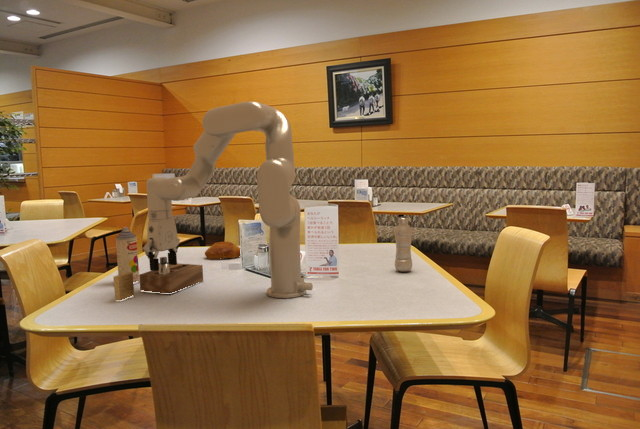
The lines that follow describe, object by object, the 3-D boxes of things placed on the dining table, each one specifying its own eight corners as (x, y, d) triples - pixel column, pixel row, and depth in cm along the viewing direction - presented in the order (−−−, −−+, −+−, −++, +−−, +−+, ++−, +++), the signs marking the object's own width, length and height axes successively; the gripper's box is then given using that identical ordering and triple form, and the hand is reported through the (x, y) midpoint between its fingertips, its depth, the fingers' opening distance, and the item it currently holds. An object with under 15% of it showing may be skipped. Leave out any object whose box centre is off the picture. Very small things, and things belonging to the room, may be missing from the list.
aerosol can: (132, 285, 172) (127, 228, 170) (114, 285, 174) (110, 228, 172) (143, 280, 179) (139, 226, 177) (126, 280, 181) (122, 225, 178)
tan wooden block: (134, 297, 158) (132, 272, 157) (120, 302, 153) (118, 276, 152) (129, 296, 159) (127, 272, 158) (115, 301, 153) (113, 276, 152)
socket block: (203, 281, 176) (202, 265, 175) (170, 295, 159) (169, 277, 158) (175, 279, 180) (174, 263, 179) (140, 292, 163) (139, 274, 163)
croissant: (237, 265, 212) (239, 246, 211) (201, 260, 212) (203, 242, 211) (243, 257, 226) (245, 240, 225) (210, 253, 227) (211, 236, 226)
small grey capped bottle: (173, 289, 167) (171, 256, 165) (166, 291, 163) (164, 259, 162) (164, 288, 168) (162, 256, 167) (157, 290, 165) (155, 258, 163)
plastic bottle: (392, 272, 181) (392, 218, 179) (397, 268, 187) (396, 216, 185) (410, 274, 179) (410, 218, 176) (414, 269, 185) (413, 216, 182)
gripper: (151, 219, 153) (155, 274, 155) (186, 212, 169) (189, 262, 171) (132, 218, 156) (136, 272, 158) (168, 212, 172) (171, 261, 174)
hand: (163, 267), depth 165 cm, fingers open, 8 cm apart
